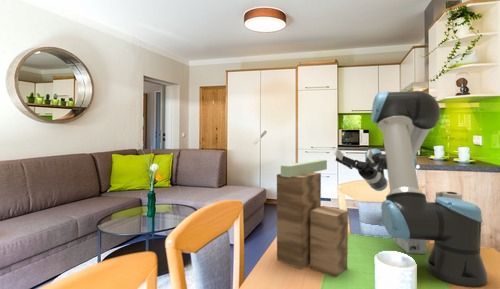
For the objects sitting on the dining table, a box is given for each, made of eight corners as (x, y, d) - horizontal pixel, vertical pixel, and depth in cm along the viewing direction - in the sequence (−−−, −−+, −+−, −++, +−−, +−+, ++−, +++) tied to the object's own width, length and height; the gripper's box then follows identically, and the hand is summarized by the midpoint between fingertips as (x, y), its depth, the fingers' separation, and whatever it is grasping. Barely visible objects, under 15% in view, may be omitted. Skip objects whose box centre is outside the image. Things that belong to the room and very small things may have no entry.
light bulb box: (426, 254, 105) (427, 224, 104) (408, 254, 105) (408, 224, 104) (411, 242, 115) (411, 215, 115) (393, 242, 116) (394, 215, 115)
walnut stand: (330, 280, 87) (331, 181, 85) (277, 259, 101) (276, 174, 99) (348, 266, 95) (349, 176, 94) (296, 249, 110) (296, 170, 108)
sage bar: (289, 177, 93) (289, 166, 93) (280, 176, 96) (280, 165, 95) (326, 169, 110) (326, 160, 110) (318, 168, 113) (318, 159, 113)
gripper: (397, 183, 121) (381, 162, 107) (341, 176, 138) (321, 157, 124) (400, 167, 123) (385, 144, 109) (345, 162, 140) (325, 142, 127)
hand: (351, 151), depth 117 cm, fingers open, 13 cm apart
